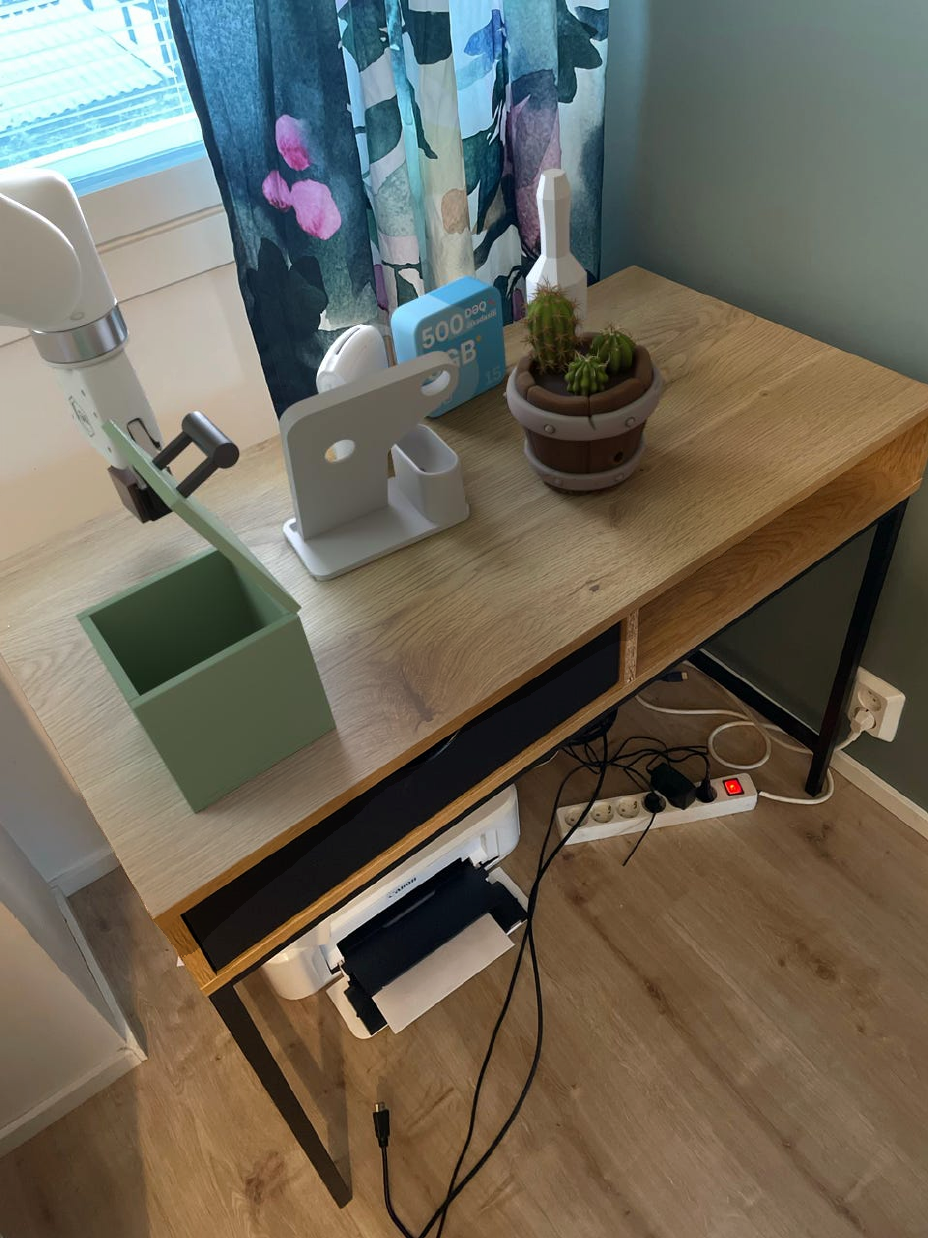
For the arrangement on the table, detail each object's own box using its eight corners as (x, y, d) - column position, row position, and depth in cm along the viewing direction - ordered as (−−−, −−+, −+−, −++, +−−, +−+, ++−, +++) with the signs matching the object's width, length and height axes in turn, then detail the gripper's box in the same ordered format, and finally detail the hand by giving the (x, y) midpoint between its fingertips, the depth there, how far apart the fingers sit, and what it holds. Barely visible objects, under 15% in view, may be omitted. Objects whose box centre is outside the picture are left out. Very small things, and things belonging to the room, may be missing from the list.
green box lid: (169, 507, 52) (236, 443, 52) (100, 426, 59) (159, 370, 59) (294, 615, 63) (349, 561, 63) (223, 536, 70) (273, 488, 70)
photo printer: (366, 469, 96) (343, 366, 87) (330, 464, 98) (304, 362, 89) (403, 416, 103) (385, 315, 94) (369, 412, 104) (348, 312, 95)
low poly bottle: (557, 347, 110) (551, 156, 94) (597, 363, 106) (597, 168, 90) (521, 369, 107) (509, 176, 91) (560, 387, 103) (554, 189, 88)
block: (143, 524, 87) (126, 486, 84) (123, 505, 90) (106, 468, 86) (184, 503, 89) (169, 465, 86) (163, 484, 91) (148, 447, 88)
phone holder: (431, 466, 95) (406, 307, 82) (478, 515, 89) (459, 351, 76) (280, 529, 91) (229, 370, 78) (318, 586, 84) (269, 423, 71)
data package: (427, 423, 101) (412, 324, 93) (404, 408, 104) (387, 310, 95) (508, 379, 106) (500, 282, 97) (483, 366, 108) (474, 270, 100)
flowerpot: (683, 447, 93) (699, 259, 79) (607, 531, 85) (610, 338, 71) (564, 411, 100) (560, 231, 86) (484, 485, 92) (464, 300, 78)
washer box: (195, 814, 68) (132, 709, 59) (138, 721, 75) (74, 614, 66) (337, 726, 72) (299, 616, 63) (270, 647, 79) (228, 537, 70)
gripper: (2, 318, 80) (83, 485, 92) (78, 382, 70) (157, 559, 83) (81, 288, 83) (149, 453, 95) (164, 345, 73) (227, 521, 86)
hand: (152, 501), depth 89 cm, fingers closed on block, 4 cm apart
